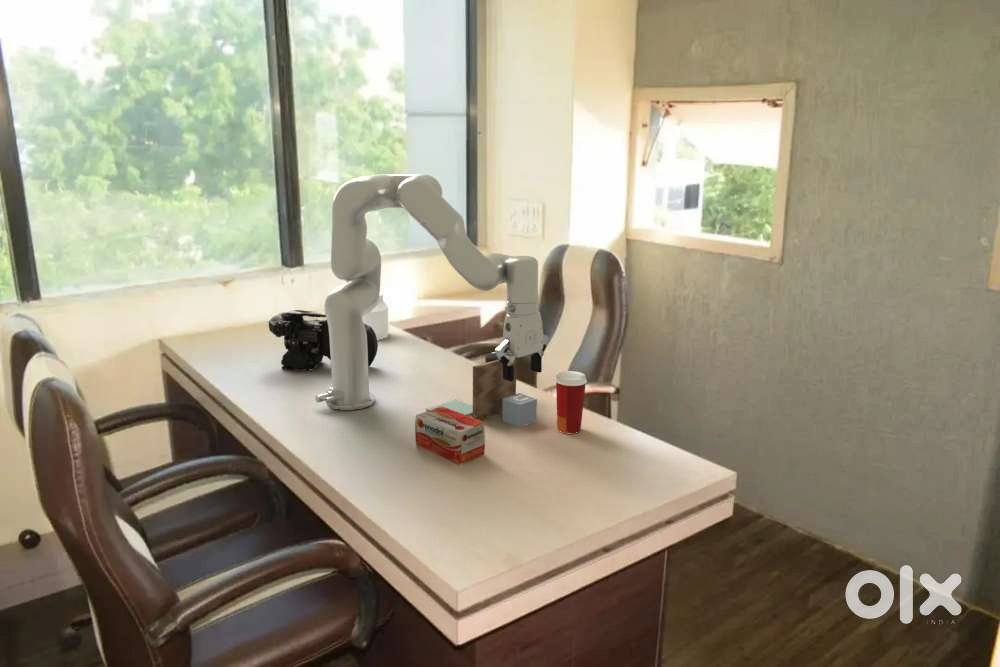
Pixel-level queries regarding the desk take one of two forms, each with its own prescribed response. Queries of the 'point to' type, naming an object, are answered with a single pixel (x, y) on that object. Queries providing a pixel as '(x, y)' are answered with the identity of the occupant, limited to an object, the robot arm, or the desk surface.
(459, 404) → the pad
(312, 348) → the movie camera
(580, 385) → the paper cup
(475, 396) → the screen
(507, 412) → the letter cube
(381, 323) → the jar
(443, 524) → the desk surface
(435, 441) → the medicine box
